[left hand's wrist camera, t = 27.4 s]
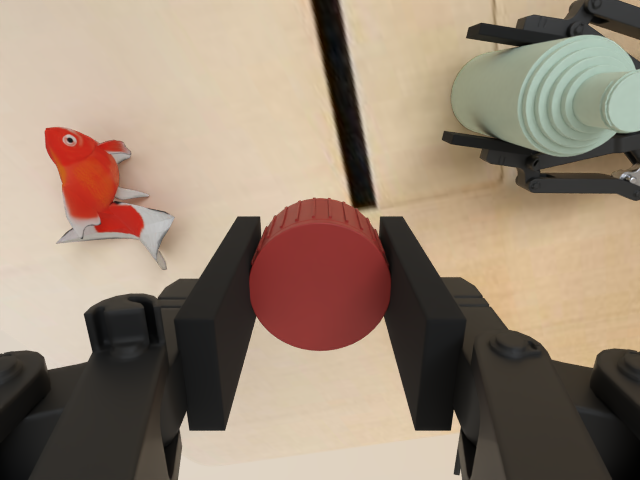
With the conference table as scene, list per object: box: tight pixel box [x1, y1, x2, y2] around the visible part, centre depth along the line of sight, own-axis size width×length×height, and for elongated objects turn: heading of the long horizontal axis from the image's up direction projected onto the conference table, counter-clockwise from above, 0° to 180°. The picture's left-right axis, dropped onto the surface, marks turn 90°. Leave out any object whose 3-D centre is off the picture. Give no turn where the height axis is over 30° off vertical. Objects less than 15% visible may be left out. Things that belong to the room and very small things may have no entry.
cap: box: [249, 198, 391, 351], centre depth 13 cm, size 4×4×3 cm
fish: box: [45, 127, 175, 270], centre depth 38 cm, size 11×16×10 cm
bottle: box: [451, 35, 640, 157], centre depth 30 cm, size 7×7×20 cm
